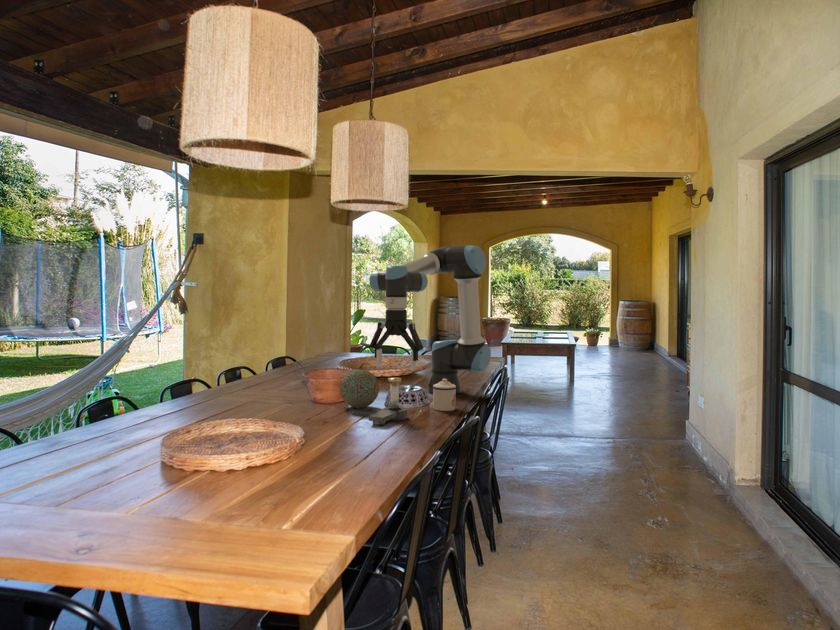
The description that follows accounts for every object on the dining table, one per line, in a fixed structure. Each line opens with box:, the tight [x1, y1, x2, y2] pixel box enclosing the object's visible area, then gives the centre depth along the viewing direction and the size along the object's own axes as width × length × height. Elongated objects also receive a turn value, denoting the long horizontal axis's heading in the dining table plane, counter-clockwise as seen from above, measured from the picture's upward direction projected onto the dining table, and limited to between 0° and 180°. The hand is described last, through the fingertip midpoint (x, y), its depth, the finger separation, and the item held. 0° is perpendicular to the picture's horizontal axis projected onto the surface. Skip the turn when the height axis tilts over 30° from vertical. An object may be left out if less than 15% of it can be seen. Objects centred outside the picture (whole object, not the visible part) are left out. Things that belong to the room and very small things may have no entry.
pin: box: [387, 376, 402, 410], centre depth 212 cm, size 5×5×14 cm
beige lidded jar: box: [432, 379, 457, 412], centre depth 230 cm, size 12×9×12 cm
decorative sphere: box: [339, 368, 380, 409], centre depth 229 cm, size 15×15×15 cm
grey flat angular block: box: [351, 406, 408, 427], centre depth 211 cm, size 18×20×3 cm
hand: (395, 368), depth 212 cm, fingers open, 13 cm apart
